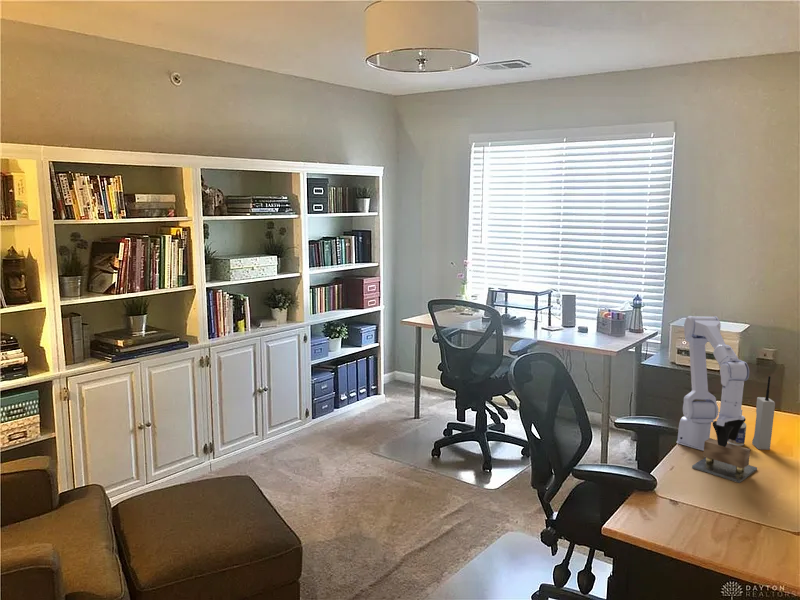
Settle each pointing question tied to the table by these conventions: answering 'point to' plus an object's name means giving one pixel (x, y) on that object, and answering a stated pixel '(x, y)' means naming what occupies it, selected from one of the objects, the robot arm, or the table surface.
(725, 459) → the walnut bar
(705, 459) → the plate
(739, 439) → the pill bottle
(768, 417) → the vintage mobile phone
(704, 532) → the table surface
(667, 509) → the table surface
